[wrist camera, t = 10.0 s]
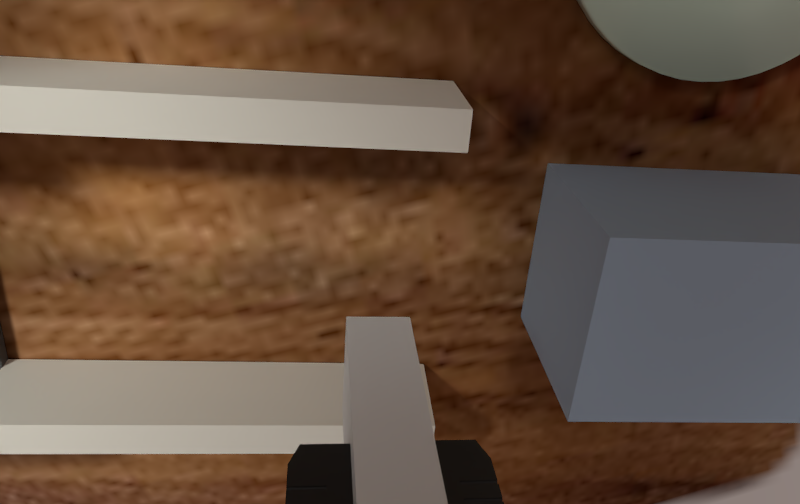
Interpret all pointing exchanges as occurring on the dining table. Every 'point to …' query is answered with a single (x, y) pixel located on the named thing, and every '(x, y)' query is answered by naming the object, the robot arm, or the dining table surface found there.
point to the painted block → (668, 294)
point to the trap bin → (2, 350)
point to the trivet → (700, 35)
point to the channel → (214, 122)
